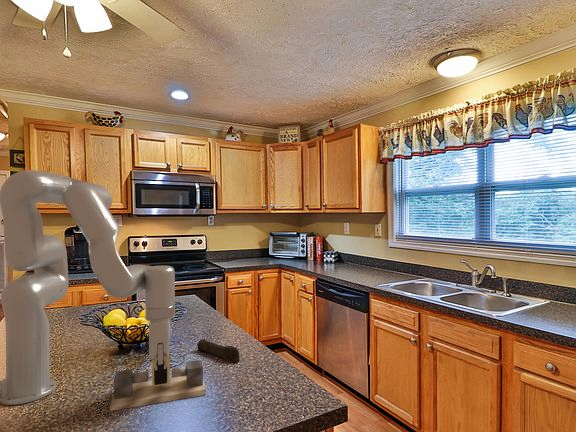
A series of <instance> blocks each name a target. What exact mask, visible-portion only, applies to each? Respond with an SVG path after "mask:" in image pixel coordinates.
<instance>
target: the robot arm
mask: <svg viewBox="0 0 576 432" xmlns="http://www.w3.org/2000/svg"><path fill="white" fill-rule="evenodd" d="M39 203H42V204H54V205H55V204H57V205H62V206H65V208H66V209H67V211H68V213H69V214H70V215H71V217H72V219H73V220H74V222H75V224H76V225H77V227H78V228H79V231H80V232H81V233H82V235H83V237H84V238H85V240H86V242H87V244H88V257H89V262H90V263H89V264H90V266H91V269H92V272H93V274H94V275H95V277H96V279H97V280H98V282H99V283H100V285H101V286H102V287H103V289H104V290H105V292H106V293H107V294H108V295H110V296H111V297H112V298H115V299H118V300H119V299H120V300H123V299H127V298H129V297H131V296H133V295H135V294H137V293H138V294H139V292H143V291H145V292H144V296H145V297H144V299H145V301H144V305H145V308H144V310H145V313H144V314H145V316H144V317H145V321H148V322H149V323H148V325H149V326H148V327H149V328H148V353H149V355H148V359H149V360H150V361H152V359H154V358H155V369H154V384H155V385H159V384H166V383H167V367H166V358H167V357H168V356H169V357H170V347H171V346H170V345H171V320H172V319H174V318H175V316H176V303H175V302H176V300H175V299H176V296H175V295H176V294H175V293H176V292H175V291H176V285H175V284H176V283H175V281H176V278H175V276H176V274H175V268H174V267H173V266H171V265H154V266H151V265H145V264H131V265H128V266H126V265H125V264H124V262H123V259H121V257H120V255H119V253H118V250H117V243H116V242H117V238H118V236H119V234H120V232H121V231H120V226H119V224H118V222H117V221H116V219H115V217H114V216H113V215H112V213H111V212H110V210H109V209H110V208H111V207H112V203H113V197H112V195H111V192H110V191H109V190H108V189H107V188H106V187H105V186H103V185H100V184H95V183H92V182H89V181H84V180H80V179H78V178H75V177H74V178H73V177H71V176H66V175H63V174H59V173H54V172H53V173H52V172H48V171H47V172H46V171H43V170H42V171H41V170H35V169H34V170H33V169H32V170H31V169H28V170H26V169H25V170H22V171H18V172H15V173H13V174H11V175H10V176H8V178H6V179H5V181H4V182H3V183H2V185H1V187H0V209H1V216H2V221H3V238H4V239H3V240H4V253H5V254H4V255H5V261H6V263H7V266H8V267H9V268H10V269H11V270H12V271H16V272H27V271H33V272H34V273H33V274H28V275H24V276H20V277H18V278H15V279H13V280H12V281H10V282H9V283H7V284H6V285H5V287H4V288H3V289H2V291H1V294H0V295H1V296H0V302H1V307H2V311H3V314H4V321H5V323H4V324H5V325H4V326H5V378H3V379H2V380H0V404H2V405H5V406H9V405H11V406H13V405H16V406H17V405H21V404H27V403H30V402H34V401H37V400H38V401H39V400H40V399H42V398H45V397H47V396H49V395H50V394H51V393H53V392H54V391H55V390H56V389H57V381H56V380H55V379H52V378H51V376H50V375H51V373H50V371H51V369H50V367H51V365H50V364H51V361H50V360H51V359H50V357H51V349H50V348H51V346H50V345H51V343H50V340H51V339H50V338H51V331H50V319H49V317H48V315H47V313H46V310H45V307H46V306H49V305H52V304H55V303H57V302H59V301H61V300H62V299H63V298H65V296H66V295H67V293H68V289H69V282H70V281H69V268H68V267H69V266H68V265H69V264H68V254H67V253H68V251H67V248H66V246H65V244H64V242H63V241H62V239H60V238H59V237H57V236H56V235H54V234H49V233H48V234H47V233H45V234H44V223H43V217H42V215H41V212H40V211H39V209H38V208H37V204H39ZM164 353H165V356H163V354H164ZM157 355H158V357H157ZM163 359H164V361H163ZM157 360H158V362H157Z"/></svg>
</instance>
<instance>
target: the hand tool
mask: <svg viewBox="0 0 576 432" xmlns="http://www.w3.org/2000/svg"><path fill="white" fill-rule="evenodd" d="M196 344H197V345H196V346H197V350H198V351H199V352H200V351H201V352H206V353H209V354H212V355H215V356H218V357H221V358H223V360H225V361H227V362H232V363H239V362H240V353H239V348H238V347H235V346H234V345H225V346H224V345H220V344H218V343H215V342H211V341H208V340H207V339H205V338H204V339H200V340H199V341H198V342H197V343H196Z"/></svg>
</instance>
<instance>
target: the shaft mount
mask: <svg viewBox="0 0 576 432" xmlns="http://www.w3.org/2000/svg"><path fill="white" fill-rule="evenodd" d="M133 372H134V369H133V368H131V369H125V370H118V371H115V374H114V378H113V394H112V398H111V401H110V406H109V407H110V412H111V411H112V412H113V411H118V410H123V409H124V410H125V409H129V408H137V407H142V406H147V405H154V404H160V403H165V402H172V401H177V400H182V399H189V398H195V397H202V396H206V395H207V388H206V384H205V380H204V365H203V362H202V359H198V360H192V361H186V366H179V367H173V368H171V377H170V384H166V385H160V386H154V387H152V380H149V371H143V372H136V373H133Z"/></svg>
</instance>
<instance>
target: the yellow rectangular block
mask: <svg viewBox="0 0 576 432" xmlns="http://www.w3.org/2000/svg"><path fill="white" fill-rule="evenodd" d="M163 356H165V353H164V354H163ZM157 357H158V355H157ZM163 361H164V359H163ZM170 361H171V360H170V355H169V356H168V357H167V358H166V367H167V383H166V384H170V378H171V377H170V375H171V373H170V371H171V367H170V366H171V365H170V364H171V363H170ZM157 362H158V360H157ZM154 369H155V358H154V359H152V360H151V381H152V387H154V386H160V385H166V384H159V385H155V384H154Z"/></svg>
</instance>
